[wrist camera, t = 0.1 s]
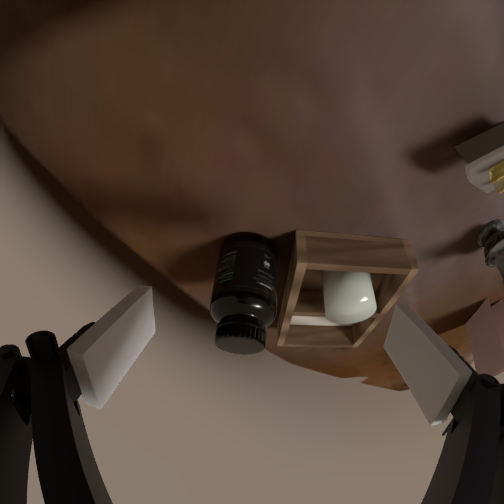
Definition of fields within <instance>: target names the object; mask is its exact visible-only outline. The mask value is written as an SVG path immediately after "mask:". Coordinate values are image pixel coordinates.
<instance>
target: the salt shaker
mask: <svg viewBox="0 0 504 504" xmlns="http://www.w3.org/2000/svg"><path fill="white" fill-rule="evenodd" d="M477 242H478V244H479V246H481V247H485V248H484V254H485V258H486V259H485V263H486V265H487V266H488V267H497V268H498V269H499V271H500V273H501V275H502V278H503V285H504V222H503V221H502V220H494V221H491V222H490V223H488V224H487V225H486V226H485V227H484V228H483V229H482V230H481V231H480V233H479V235H478V238H477Z"/></svg>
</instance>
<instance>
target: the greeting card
mask: <svg viewBox="0 0 504 504" xmlns="http://www.w3.org/2000/svg"><path fill="white" fill-rule="evenodd" d="M465 325H466V329H467V332H468V336H469V340H470V344H471V349H472V353H473V358H474V363H475V368H476V372H477V374H478V375H479V374H483V373H484V374H489V375H491V376H493V377H494V376H496V375H498V374H499V373H501V372H503V371H504V300H503V299H501V300H500V301H499V302H497V303H496V304H494V305H493V306H492V307H491V306H490V303H489V300H488V297H487V299H486V300H485V301H484V302H483V304H482V305H481V306H480V307H479V309H478V310H477V311H476V312H475V313H474V315H473V316H472V317H471V318H470V319H469V320H468V322H467V323H466V324H465Z"/></svg>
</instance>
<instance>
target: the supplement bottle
mask: <svg viewBox="0 0 504 504" xmlns="http://www.w3.org/2000/svg"><path fill="white" fill-rule="evenodd" d="M277 296H278V251H277V248H276V246H275V245H274V243H273V242H272V241H271V240H269V239H268V238H266V237H264V236H262V235H259V234H256V233H239V234H235V235H233V236H231V237H229V238H228V239H227V240H225V242H224V243H223V244H222V246H221V250H220V254H219V259H218V264H217V269H216V275H215V280H214V285H213V291H212V296H211V302H210V312H211V315H212V317H213V319H214V320H215V321H216V322H217V323H218V324H217V325H216V330H215V331H216V336H215V344H216V346H217V347H218V348H220V349H222V350H223V351H227V352H230V353H235V354H244V355H245V354H255V353H259V352H261V351H262V350H264V348H265V340H266V333H267V330H266V328H267V327H269V326H270V325H271V324H272V323H273V322H274V320H275V318H276V315H277Z"/></svg>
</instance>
